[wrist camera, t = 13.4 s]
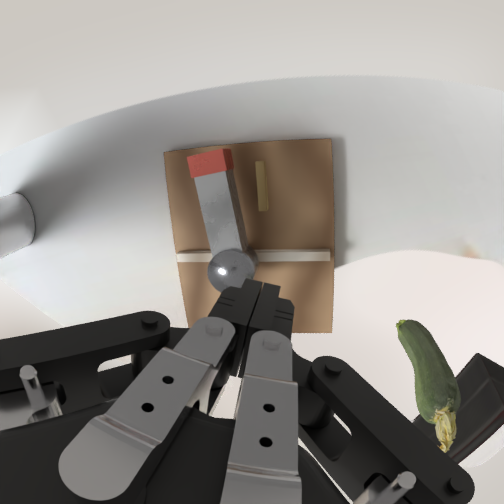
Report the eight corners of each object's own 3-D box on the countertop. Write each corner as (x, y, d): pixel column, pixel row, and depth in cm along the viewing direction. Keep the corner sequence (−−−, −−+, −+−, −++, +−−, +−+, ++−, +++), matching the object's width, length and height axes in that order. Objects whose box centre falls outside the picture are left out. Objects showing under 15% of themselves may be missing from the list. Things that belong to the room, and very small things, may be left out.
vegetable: (421, 305, 35) (483, 424, 16) (426, 332, 36) (478, 452, 17) (389, 316, 36) (430, 445, 17) (395, 343, 37) (431, 470, 18)
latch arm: (262, 278, 33) (256, 293, 30) (222, 283, 34) (213, 297, 31) (235, 147, 29) (226, 147, 26) (193, 157, 30) (180, 158, 27)
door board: (191, 323, 41) (182, 337, 38) (168, 152, 34) (154, 153, 31) (331, 327, 38) (332, 343, 34) (330, 139, 31) (332, 137, 28)
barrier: (413, 456, 44) (421, 498, 34) (380, 448, 44) (385, 493, 34) (505, 367, 35) (530, 408, 26) (476, 351, 35) (503, 395, 26)
